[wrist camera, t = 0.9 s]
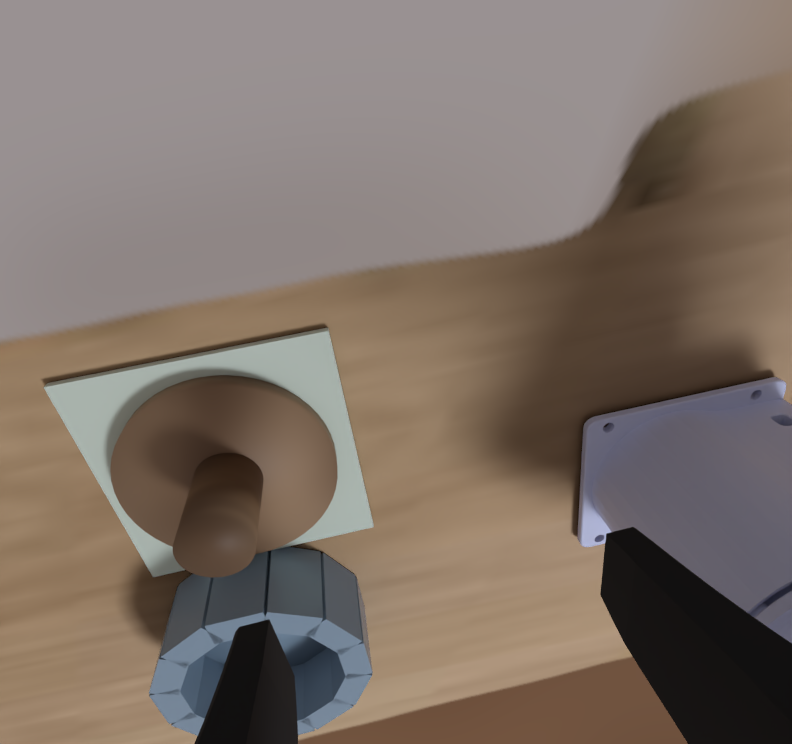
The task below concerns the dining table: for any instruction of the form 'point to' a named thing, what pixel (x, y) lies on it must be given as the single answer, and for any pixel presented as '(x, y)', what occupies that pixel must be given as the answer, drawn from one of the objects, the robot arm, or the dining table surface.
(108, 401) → the mat
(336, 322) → the dining table surface
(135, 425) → the lid
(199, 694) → the bowl
